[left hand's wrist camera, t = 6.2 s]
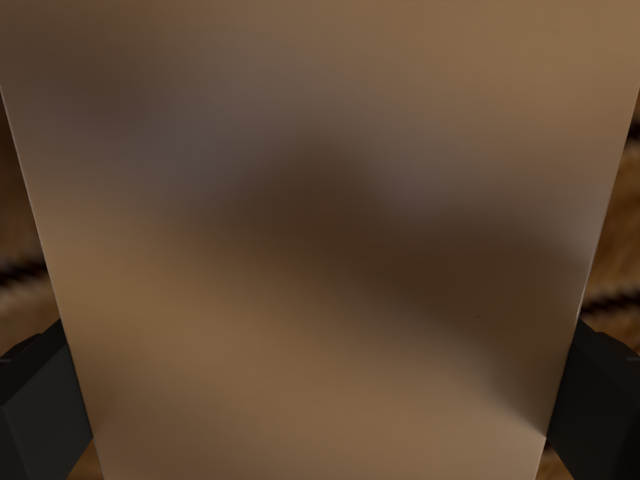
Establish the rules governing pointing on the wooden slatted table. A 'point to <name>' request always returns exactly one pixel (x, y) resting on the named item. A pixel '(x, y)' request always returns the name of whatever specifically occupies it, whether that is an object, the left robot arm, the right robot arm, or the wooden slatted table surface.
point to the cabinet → (319, 223)
